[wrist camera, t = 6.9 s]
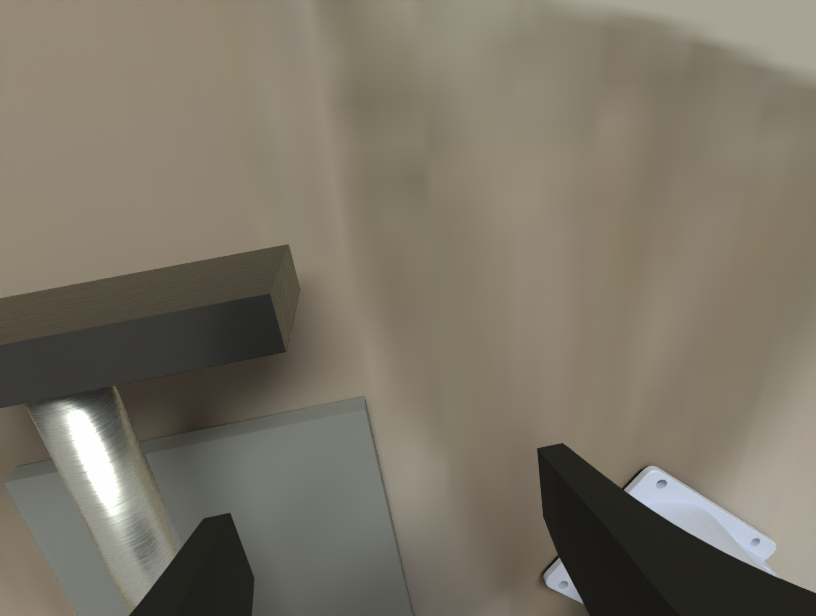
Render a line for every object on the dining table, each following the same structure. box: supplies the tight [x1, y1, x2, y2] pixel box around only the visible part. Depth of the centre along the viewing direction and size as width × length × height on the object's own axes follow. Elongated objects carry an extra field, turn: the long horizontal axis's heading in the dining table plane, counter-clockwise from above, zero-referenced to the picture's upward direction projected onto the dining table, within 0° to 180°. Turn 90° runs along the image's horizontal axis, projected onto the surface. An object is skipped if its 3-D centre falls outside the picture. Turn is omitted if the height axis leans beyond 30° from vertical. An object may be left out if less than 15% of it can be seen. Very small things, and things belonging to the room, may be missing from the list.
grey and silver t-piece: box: [0, 244, 300, 614], centre depth 18 cm, size 22×12×4 cm, turn 9°
